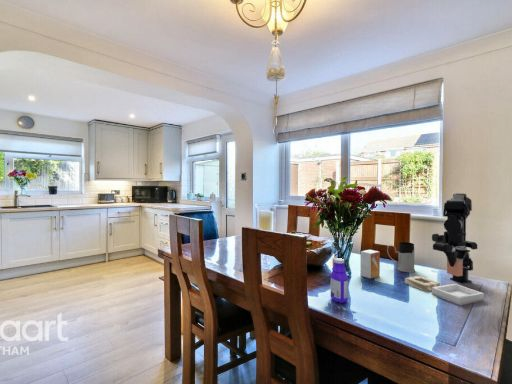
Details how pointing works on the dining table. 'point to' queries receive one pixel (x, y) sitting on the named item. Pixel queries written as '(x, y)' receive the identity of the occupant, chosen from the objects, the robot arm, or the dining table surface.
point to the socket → (422, 283)
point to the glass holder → (405, 256)
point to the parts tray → (458, 294)
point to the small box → (370, 263)
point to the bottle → (339, 281)
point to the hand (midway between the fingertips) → (454, 266)
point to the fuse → (455, 267)
